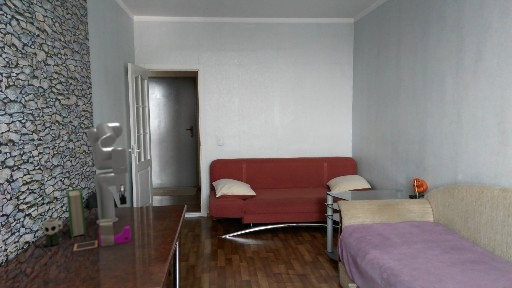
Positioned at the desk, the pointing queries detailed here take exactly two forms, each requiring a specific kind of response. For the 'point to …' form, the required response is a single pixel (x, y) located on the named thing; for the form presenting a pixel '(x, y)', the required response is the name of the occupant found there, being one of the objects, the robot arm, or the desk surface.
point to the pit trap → (85, 245)
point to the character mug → (51, 231)
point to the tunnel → (106, 232)
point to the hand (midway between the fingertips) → (123, 202)
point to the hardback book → (76, 212)
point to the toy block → (120, 236)
